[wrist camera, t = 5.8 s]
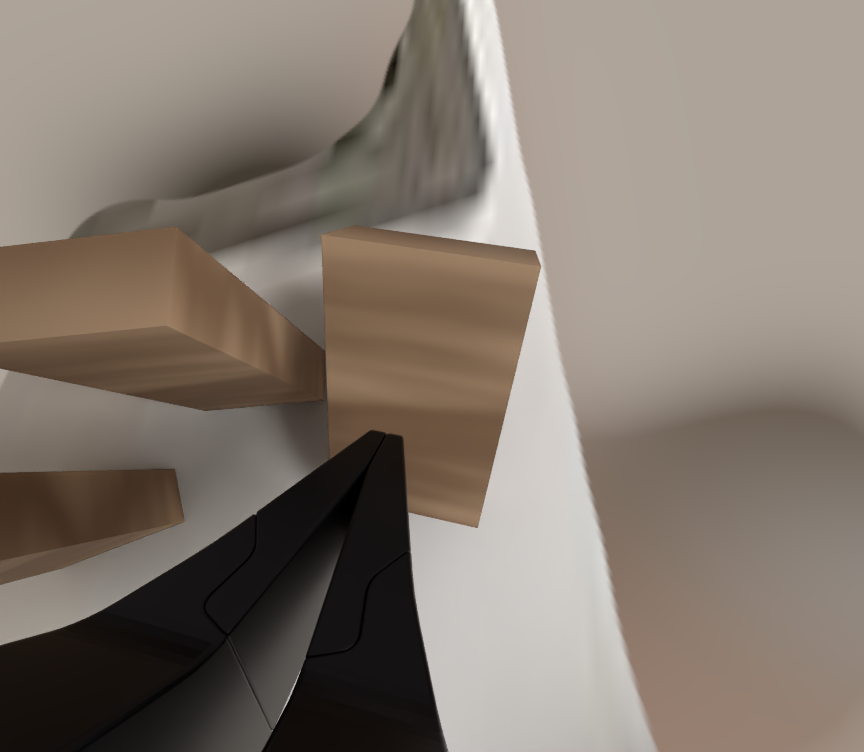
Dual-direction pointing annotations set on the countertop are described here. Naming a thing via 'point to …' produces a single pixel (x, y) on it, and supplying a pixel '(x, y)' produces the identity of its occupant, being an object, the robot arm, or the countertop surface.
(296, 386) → the light brown wooden block
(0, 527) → the tile two
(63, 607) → the countertop surface
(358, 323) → the wooden block
